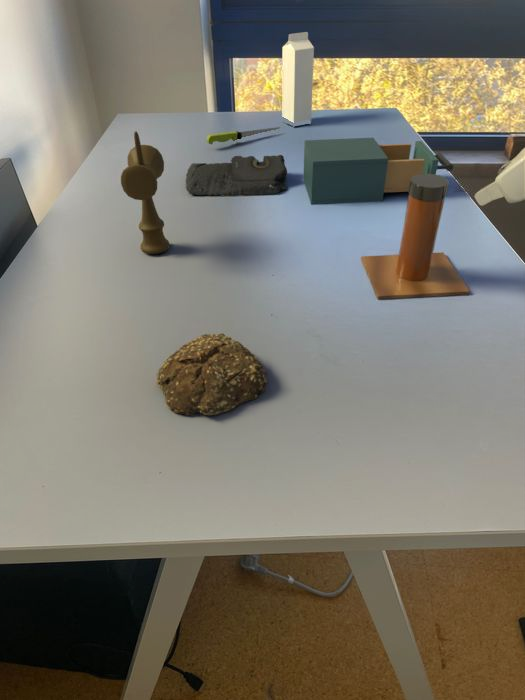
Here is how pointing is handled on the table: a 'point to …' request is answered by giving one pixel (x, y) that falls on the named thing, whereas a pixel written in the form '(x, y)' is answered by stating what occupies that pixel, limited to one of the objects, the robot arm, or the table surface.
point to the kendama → (146, 193)
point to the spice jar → (421, 225)
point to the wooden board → (392, 286)
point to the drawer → (410, 164)
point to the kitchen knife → (234, 135)
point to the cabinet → (344, 170)
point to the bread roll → (210, 376)
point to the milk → (297, 78)
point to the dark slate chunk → (238, 177)
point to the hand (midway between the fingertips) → (490, 186)
